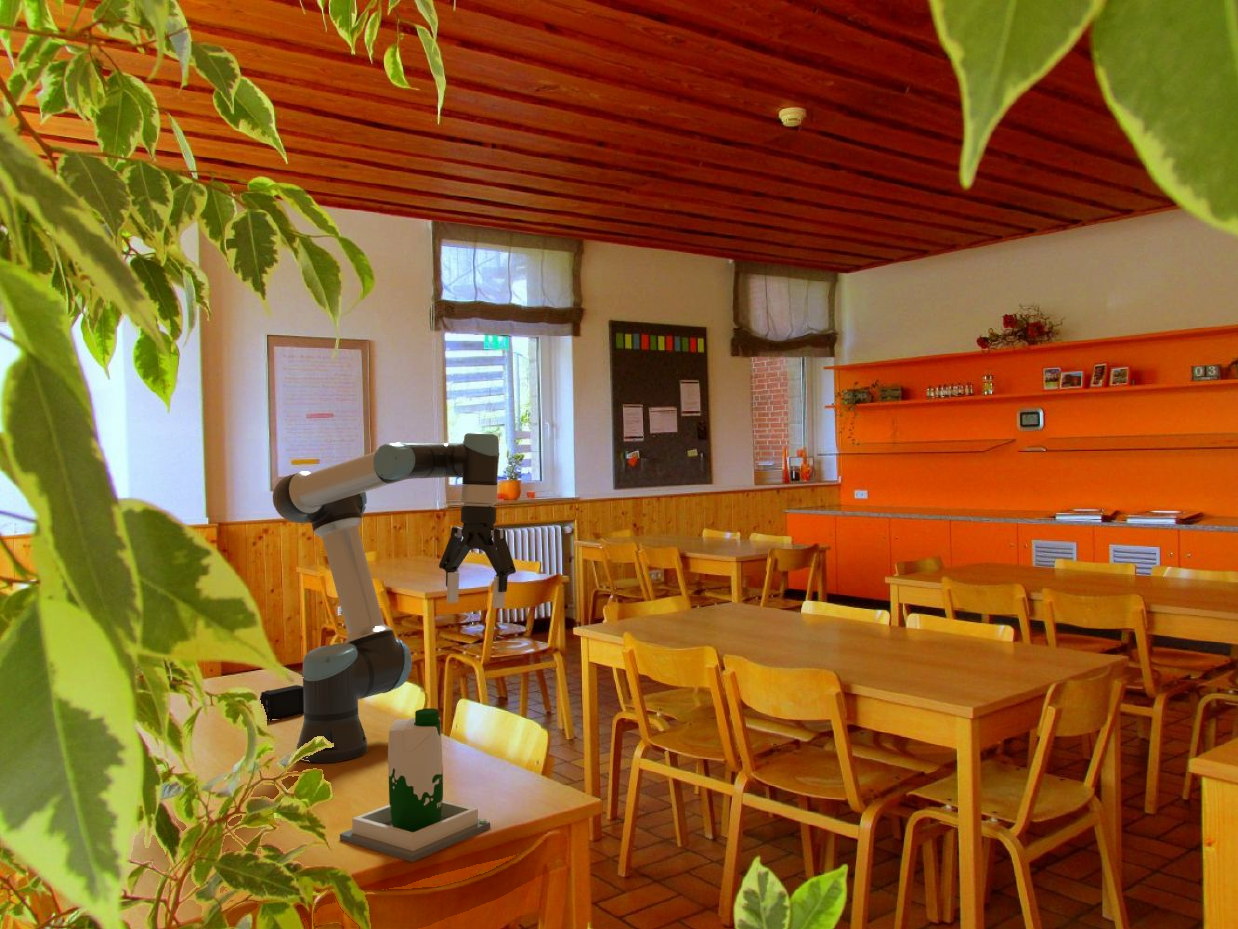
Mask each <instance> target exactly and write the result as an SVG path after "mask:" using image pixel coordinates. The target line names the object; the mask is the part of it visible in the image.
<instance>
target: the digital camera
mask: <svg viewBox="0 0 1238 929" xmlns="http://www.w3.org/2000/svg"><path fill="white" fill-rule="evenodd" d="M260 700H261V704H263V706H264V709H265V712H266V715H267V719H268V721H267V722H272V721H271V720H272V719H280V720H282V718H284V719H287V718H291V717H292V718H293V717H296V716H297V717H298V716H300V715H304V696H303V685H299V684H295V685H291V686H286V687H280V688H276V689H271V690H269V689H268V690H267V689H266V690H264V691H261V694H260V697H259V701H260ZM261 704H260V705H261ZM269 719H270V721H269Z"/></svg>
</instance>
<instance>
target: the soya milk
mask: <svg viewBox="0 0 1238 929" xmlns="http://www.w3.org/2000/svg"><path fill="white" fill-rule="evenodd" d="M414 713H415V714H414V717H410V718H408V719H407V718H405V719H402V718H401V719H395V720H394V722H393V723H392V725H391V727H390V729H389V731H388V746H387V761H388V763H387V765H388V766H387V767H388V799H389V800H388V802H389V804H390V812H391V818H392V825H393V827H395V828H399V829H402V830H406V831H409V832H416V831H418V830H420V829H423V828H425V827H428V826H430V825H433V824H435V823H438V822H440V818H441V810H442V801H443V800H444V799H443V798H444V776H443V775H444V774H443V771H444V769H443V767H444V766H443V743H442V742H443V741H442V728H441V727H442V726H441V717H440V713H439V708H433V707H432V708H420V709H417V710H416V711H415V712H414ZM389 804H388V805H389Z"/></svg>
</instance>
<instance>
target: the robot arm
mask: <svg viewBox="0 0 1238 929" xmlns="http://www.w3.org/2000/svg"><path fill="white" fill-rule="evenodd" d="M499 448H500V444H499V437H498V436H497V435H496V434H495V433H486V432H467V433H465V435H464V436H463V441H462V442H420V443H419V442H416V443H415V442H398V441H397V442H395V441H394V442H390V443H384V444H381V445H380V446H379V447H378V449H377V450H376V451H374V452H372V453H371V452H370V453H368V454H365V455H362V456H358V457H356V458H353V459H350V460H347V461H344V462H341V463H338V464H335V465H332V466H329V467H326V468H323V469H320V470H316V471H314V472H310V471H299V472H296V473H293V474H289V475H287V476H284V477H283V478H281V479H280V480H279V481H278V482H277V484H276V485H275V487H274V489H273V492H272V502H273V507H274V508H275V511H276V512H277V513H278V514H279V516H281V518H283V519H285V520H286V521H289V522H291V523H297V524H308V523H309V524H311V526H312V530H313V534H314V535H315V536H318V537H320V538H321V539H322V543H323V548H324V550H325V553H326V557H327V562H328V564H329V569H330V573H331V576H332V580H333V583H334V587H335V592H336V594H337V599H338V602H339V606H340V610H341V613H342V616H343V620H344V621H343V622H344V623H345V624H344V625H345V629H346V632H347V637H346V639H345V641H344V642H341V643H339V642H338V643H333V644H327V645H323V646H319V647H316V648H314V649H311V650H310V651H308V652H307V653H306V654H305V655H304V658H303V660H302V671H301V677H302V686H303V696H304V714H303V724H302V726H301V731H300V735H299V738H298V742H297V744H296V750H297V749H299V748H300V747H301V746H303V745H304V744H305V743H308V742H309V741H311V740H312V739H313V738H314V737H317V736H324V737H325V738H326V739H327V740H328V741H330V742H331V743H334V747H332V748H325V749H323V750H321V751H318V752H316V753H314V754H313V755H310V756H305V757H303V758H302V759H304V760H309V761H310V762H309V763H312V762H315V764H324V763H325V764H326V763H328V764H329V763H336V762H343V761H348V760H351V759H357V758H358V757H361V756H363V755H364V754H366V753H367V752H368V739H367V737H366V734H365V731H364V727H363V726H362V722H361V720H360V717H359V700H363V699H365V698H370V697H372V696H376V695H380V694H386V693H389V692H392V691H394V690H396V689H399V688H400V687H401V686H403V685H404V684H405V683H406V682H407V680H408V678H409V675H410V673H411V670H412V666H413V665H412V661H413V660H412V654H411V650H410V648H409V646H408V645H407V644H406V643H404V641H403V640H402V639H398V638H396V637H395V632H394V629H393V628H392V627H390V626H388V625H386V624H385V621H384V618H383V614H382V610H381V607H380V604H379V599H378V597H377V593H376V589H375V585H374V582H373V578H372V575H371V571H370V567H369V563H368V560H367V559H368V558H367V556H366V552H365V548H364V544H363V542H362V539H361V538H362V537H361V534H360V531H359V527H360V526H361V524H362V523H363V521H364V520H363V517H362V516H363V514H364V513H365V512H366V511H365V510H366V508H367V507H366V504H367V503H368V501H367V500H368V499H367V492H368V491H371V490H375V489H378V488H381V487H384V486H388V485H391V484H395V483H398V482H402V481H405V480H411V479H412V480H413V479H414V480H415V479H433V478H434V479H435V478H439V479H441V478H462V483H461V484H462V485H461V501H460V502H461V503H462V504H463V505H462V507H461V508H460V509H461V510H460V522H461V523H462V526H452V527H451V529H450V537H449V539H448V542H447V544H446V547H445V549H444V552H443V555H442V557H441V560H440V562H439V564H438V567H439V569H443V570H444V571H445V586H446V604H454V603H455V604H457V603H459V590H460V589H459V585H460V583H459V582H460V572H459V568H460V566H461V564H462V563H463V561H464V560H465V558H466V557H467V556H468V554H469V553H470V551H471V550H474V549H475V550H481V551H482V552H484V554H485V555H486V557H487V559H488V561H489V562H490V565H491V567H492V568H493V570H494V572H495V575H494V577H493V595H492V609H505V603H506V602H505V600H506V593H507V591H508V579H509V578H508V577H509V576H511V575H514V574H516V573H517V572H516V571H517V570H516V566H515V564H514V560H513V557H512V554H511V551H510V547H509V544H508V542H507V535H506V533H507V532H506V529H505V528H494V525H495V524H496V523H497V508H496V507H495V505H497V502H498V500H497V498H498V476H499V475H498V474H499V460H500V449H499ZM303 677H304V678H303ZM306 757H308V758H306Z"/></svg>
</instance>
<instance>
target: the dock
mask: <svg viewBox="0 0 1238 929" xmlns="http://www.w3.org/2000/svg"><path fill="white" fill-rule="evenodd" d="M478 810H479V809H478V808H477V807H472V806H468V805H463V804H460V803H456V802H452V801H448V800H445V799H443V801H442V810H441V818H440V822H438V823H435V824H433V825H430V826H428V827H425V828H423V829H420V830H418V831H416V832H409V831H406V830H402V829H399V828H395V827H393V825H392V818H391V812H390V804H387V805H384V806H382V807H379V808H377V809H374V810H371V811H369V812H366V813H363V814H361V815H357V816H355V817H352V819H351V821H352V823H351V825H352V826H351V827H352V828H351V829H349V830H347V831H344V832H342V833H340V834H339V840H340V841H343V842H346V843H349V844H352V845H355V846H359V847H362V848H366V849H368V850H370V851H371V850H372V851H376V852H379V853H381V854H384V855H387V856H390V857H395V858H398V859H401V860H404V861H407V862H410V863H414V862H416V861H418V860H421V859H423V858H425V857H428V856H430V855H432V854H435V853H437V852H439V851H441V850H444V849H446V848H448V847H450V846H453V845H455V844H457V843H460V842H461V841H464V840H467V839H469V838H470V837H473V836H475V835H478V834H480V833H482V832H484V831H486V830H489V829H491V821H487V819H485V818H483V819H482V818H481V819H479V811H478Z"/></svg>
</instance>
